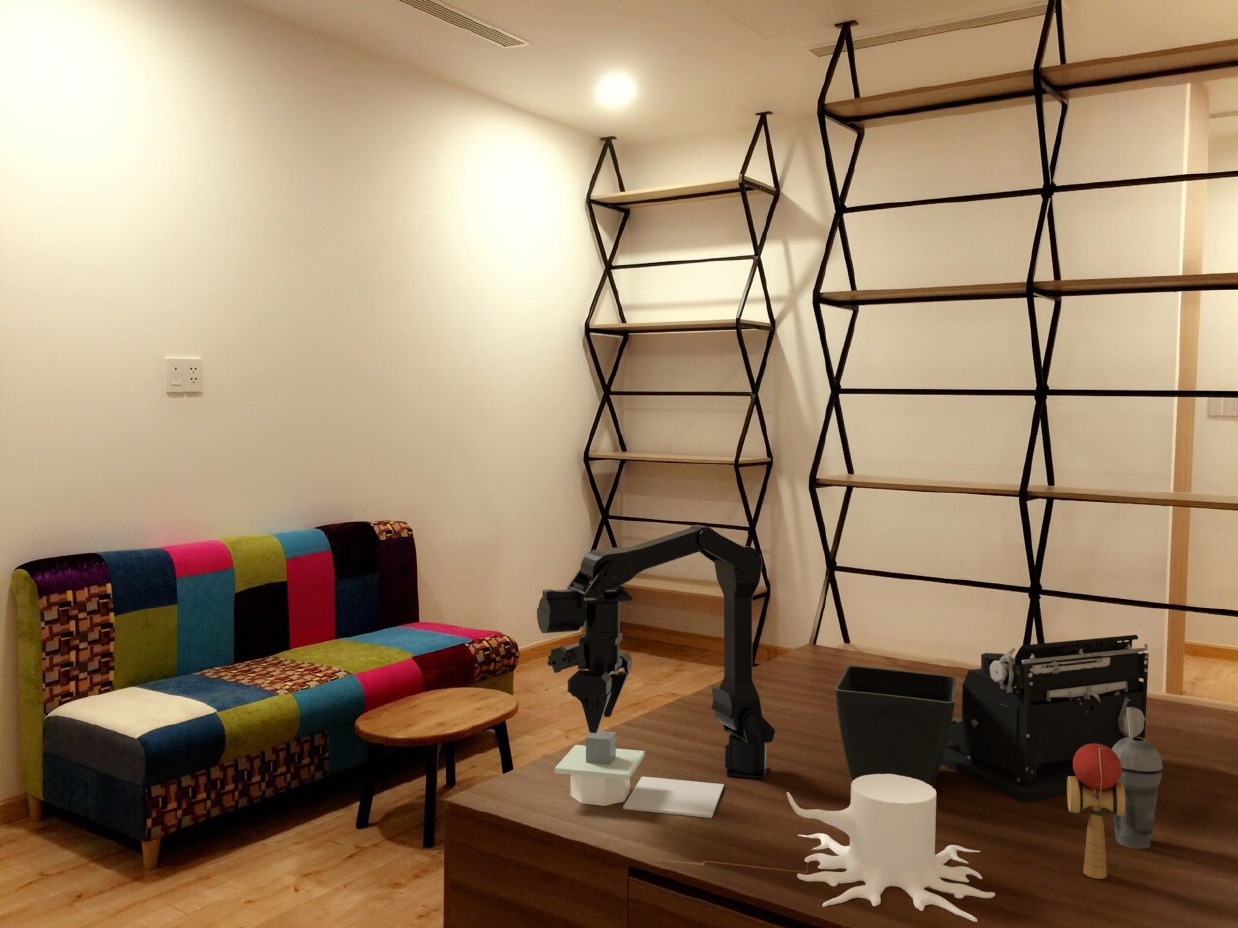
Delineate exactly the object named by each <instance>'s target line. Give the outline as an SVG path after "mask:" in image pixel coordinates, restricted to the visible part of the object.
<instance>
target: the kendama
mask: <svg viewBox="0 0 1238 928" xmlns="http://www.w3.org/2000/svg"><path fill="white" fill-rule="evenodd" d="M1073 769H1074V772H1075V774H1076V776H1077V777H1076V776H1068V778H1067V795H1066V798H1067V809H1068V811H1069V813H1074V814H1079V813H1081V812H1082V811H1083V810H1084V809H1087V808H1090V811H1089V816H1088V821H1087V828H1086V837H1085V839H1086V840H1085V841H1086V842H1085V849H1084V858H1083V859H1084V862H1083V867H1082V868H1083V870H1082V872H1083V874H1084V875H1085V876H1087V877H1088V878H1091V879H1096V880H1103V879H1106V878H1107V877H1108V872H1107V871H1108V870H1107V856H1106V854H1107V853H1106V838H1105V837H1106V835H1105V824H1104V817H1103V809H1107V810H1108V811H1110V812H1112V813H1113V815H1114V814H1115V815H1116V816H1124V814H1125V791H1124V785H1123V783H1122V782H1118V781H1119V779H1120V777H1121V773H1122V766H1121V762H1120V760H1119V758H1118V756H1117V755H1116V753H1115V752H1114V751H1113V750H1111V749H1110V748H1108V747H1106V746H1104V745H1101V744H1087V745H1084V746H1082V747H1081V748H1080V749H1079V750H1078V751H1077V752H1076V754H1075V756H1074V758H1073Z"/></svg>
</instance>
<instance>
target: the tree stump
mask: <svg viewBox="0 0 1238 928" xmlns="http://www.w3.org/2000/svg"><path fill="white" fill-rule="evenodd" d="M850 784H851V785H850V803H849V806H847V808H844V809H842V810H841V809H840V810H824V809H817V808H816V809H815V808H814V809H804V808H801V807H799V805H798V804H797V803H796V802H795V800H794V798H793V796H792V795H791V794H790V792H789V791H787V792H786V796H787V800H788V801H789V804H790V806H791V807H792V809H793V811H794V812H795V813H796V815H798V816H799V817H802V818H807V819H813V820H814V819H815V820H819V821H821V822H822V823H825V824H826V825H830V826H832V827H834V828H836V829H838V830H841V831H842V832H844V833H845V834H847V836H848V837H849V845H842V844H840V843H839V842H838V841H835V840H834V839H833V838H832V837H831V836H829V835H828V834H826V833H814V834H809V835H806V834H805V835H804V834H797V836H798V837H803V838H809V839H819V840H820V844H819V845H818V846H816V847H815V846H814V847H813V848H812V849H810V850H811V851H817V850H826V849H830V850H831V851H833V852H834V853H835V854H836V855H829V854H826V853H820V852H817V853H813V854H811V855H808V856H806V857H805V858H804V862H806V864H808V863H809V862H813V861H815V862H816V861H817V862H819V865H818V866H817V869H820V870H823V871H819V872H814V873H811V874H802V873H797V874H796V877H797V878H798V879H799V880H802V881H804V882H805V881H806V882H825V883H827V884H828V885H829V886H831V887H836V886H838V884H849V883H856V882H859V881H860V882H864V884H863V885H857V886H854V887H851V888H848V889H847V890H846V891H845V892H843V893H842V894H840V895H838V896H837V897H833V898H831V899H829V900H827V901H824V902H823V904H822V905H821V906H822V907H824V908H825V907H828V906H832V905H833V906H834V905H837V904H841V903H845V902H848V901H849V900H851V899H856V898H861V899H866V900H868V901H870V902H871V905H872V906H873V907H876V906H879V905H880V904H881V902H882V900H881V899H882V898H881V895H882V893H883V892H884V890H885V889H886V888H887V887H897V888H900V889H902V890H903V891H905V893H907V894H908V895H909V897H911V899H912V901H913V904H914V908H916V909H918V910H919V911H920V912H923V911H924V909H925V906H928V905H933V906H937V907H940V908H943V909H945V910H947V911H948V912H951V913H953V914H954V915H956V916H960V917H962V918H965V919H967V920H970V921H972V922H975V923H977V922H978V919H977V917H975V916H973V915H972V914H970V913H967V912H966V911H964V910H962V909H960V908H958V907H957V906H956V905H954V904H952V903H951V902H950V901H948V900H947V899H945V898H944V897H942V896H940V895H939V894H936V893H933V892H930V891H927V890H926V889H925V888H930V889H932V890H935V891H939V892H941V893H947V894H951V895H954V897H955V898H956V899H964V897H965V896H970V897H971V896H973V897H976V898H977V897H978V898H983V899H992V898H994V897H995V896H996V893H995V892H993V891H990V892H988V891H984V890H983V891H982V890H981V889H978V888H975V887H972V886H970V885H968V884H967V885H966V884H965V883H969V882H970V880H969V879H968V878H967V875H972V876H975V877H976V878H978V879H980V880H982V879H983V876H982V875H981V874H980V873H979V872H977V871H976V870H974V869H972V868H970V867H967V866H964V865H961V866H960V865H958V866H948V865H945V864H946V863H947V862H948V861H950V860H954V861H957V862H959V863H963V864H969V862H968V861H967V860H964V859H963V858H962V857H961V858H960V857H959V856H958V851H962V852H965V853H980V852H981V850H974V849H969V848H966V847H963V846H960V845H956V844H950V845H948V846H946V847H945V848H944V850H941V851H940V852H939V853H937V854H935V853H936V819H937V815H936V814H937V813H936V812H937V791H936V789H935V788H934V787H933V788H932V786H930V785H929V784H926V783H924V782H923V781H921V780H918V779H914V778H911V777H906V776H899V775H894V774H875V775H874V774H871V775H865V776H862V777H861V776H860V777H858V778H857V779H855V780H853V781H851V783H850ZM837 869H845V871H841V872H840V871H839V872H837V871H828V870H837ZM824 870H827V871H824ZM942 878H943V879H946V880H947V879H948V880H951V881H954V882H955V881H956V882H960V883H954V882H947V881H944V880H942ZM961 882H963V883H964V884H963V883H961Z"/></svg>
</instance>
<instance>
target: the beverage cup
mask: <svg viewBox="0 0 1238 928" xmlns="http://www.w3.org/2000/svg"><path fill="white" fill-rule="evenodd" d="M1127 717H1128V728H1129V737H1126V738H1123V739H1121V740H1119V741H1118V742H1117V743H1116V744H1115V745H1114V746H1113V748H1112V750H1113V751H1114V752H1115V753H1116V755H1117V756H1118V758H1119V760H1120V762H1121V766H1122V773H1121V777H1120V779H1119V781H1118V782H1122V783H1123V785H1124V791H1125V814H1124V816H1116V815H1115V814H1114V813H1113V823H1114V824H1113V825H1114V835H1115V841H1116V842H1117V843H1118V844H1119V845H1121V846H1125V847H1126V848H1130V849H1135V850H1136V849H1137V850H1145V849H1148V848H1150V847H1151V841H1152V837H1153V832H1154V831H1153V830H1154V823H1155V816H1156V815H1155V814H1156V808H1157V802H1158V801H1157V800H1158V792H1159V785H1160V783H1161V781H1162V777H1163V772H1165V771H1164V770H1165V769H1164V767H1163V761H1162V760H1163V759H1162V757H1161V755H1160V753H1159V751H1158V749H1157V747H1155V746H1154V744H1152V743H1151V742H1150V741H1149V740H1147V739H1146V738H1145V739H1143V738H1140V737H1133V730H1132V719H1131V709H1130V707H1127Z"/></svg>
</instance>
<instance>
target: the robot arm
mask: <svg viewBox="0 0 1238 928" xmlns="http://www.w3.org/2000/svg"><path fill="white" fill-rule="evenodd" d="M696 553H700V554H701V555H702V556H704V557H705V558H706V559H707V560H709V561H710V562H713V563H714V569H715V575H716V580H717V582H718V585H719V587H720V589H721V592H722V594H723V630H724V631H723V651H724V652H723V656H724V658H723V663H724V664H723V665H724V666H723V674H724V675H723V679H722V680H721V682H720V685H719V687H718V686H712V688H711V693H712V705H711V710H712V711H714V716H715V718H716V719H717V721H718V722H720V723H721V726H722V728H723V730H724V732H726V733H728V734H729V736H728V741H727V742H726V743H725V746H724V752H725V753H724V768H725V769H727V770H726V774H725V775H726V776H729V777H730V776H731V777H741V778H749V779H760V780H761V779H762V780H763V779H765V778H766V774H767V771H768V763H767V744H768V743H772V742H773V740H774V738H775V733H776V730H775V728H774V727H773V726H772V725H771V724H770V723H769V722H768V721H767V719H765V718H764V717H763V710H762V703H761V698H760V695H759V693H758V689H757V688H756V685H755V682H754V679H753V598H754V597H753V596H754V594H755V592H756V590H757V588H758V586H759V584H760V582H761V575H762V569H763V558H762V555H761V553H759V551H758V550H757V549H755V548H753V547H752V546H747V545H743V544H738V543H737V542H736V541H735V542H734V541H733V540H732V539H730V538H727V536H724V535H722V534H720V533H718V532H717V531H715V530H714V529H713V528H712V527H709V526H705V525H702V524H701V525H700V524H693V525H691V526H689V527H688V528H685V529H682V530H679V531H675V532H672V533H670V534H666V535H663V536H661V537H657V538H654V539H651V540H648V541H645V542H642V543H639V544H636V545H632V546H625V547H624V546H623V547H607V548H600V549H592V550H590V551H589V552H587V553H585V555H584V557H583V559H582V560H581V564H580V568H579V570H578V571H577V572H576V574H575V576H574V577H573V578H572V580H571V582H570V583H569V584H568V586H567V588H566V589H552V588H549V589H548V588H547V589H543V590H542V595H541V596H542V597H541V598H540V599H539V603H538V608H536V620H537V625H538V628H539V630H540V632H541V633H542V634H552V633H553V634H554V633H568V632H569V633H570V632H578V631H579V630H580V629H581V628H584V632H583V635H582V636H580V638H578V642H576V643H572V644H569V645H566V646H564V645H563V644H561V645H559V646H557V647H553V648H552V649H550V653H549V654H548V655H547V658H548V661H547V665H548V666H549V667H551V668H552V671H553V673H554V674H557V673H561V672H562V671H563V670H566V669H570V668H573V667H576V666H577V671H576V672H574V674H573V675H571V677H570V678H568V680H567V693H570V695H571V696H572V697H575V698H576V699H577V700H579V702H580V703H581V707H582V708H583V712H584V715H585V720H586V724H587V728H588V732H589V734H590V733H596V732H597V731H599V727H600V725H601V722H602V720H603V717H604V718H611V717H612V715H613V712H614V710H615V707H616V705H617V703H618V700H619V697H620V696H621V693H622V691H623V689H624V686H625V685H626V681H627V679H628V677H629V676H630V671H631V670H632V668H633V666H632V665H633V662H632V661H633V657H632V656H631V655H630V654H629V653H628V652H627V651H620V643H621V642H622V641H623V633H622V632H621V631H620V630H621V629H620V628H621V627H620V622H621V620H620V619H621V618H620V617H621V616H620V615H621V602H631V601H633V599H634V597H633V596H632V595H631V594H630V593H628V591H627V590H626V589H625V587H624V586H623V585H624V584H626V583H628V582H630V581H632V580H633V579H634V578H635V577H636V576H637V575H638V574H640V573H641V572H643V571H646V570H648V569H651V568H653V567H658V566H660V565H665V564H666V563H670V562H672V561H676V560H678V559H681V558H684V557H688V556H691V555H693V554H696ZM622 669H623V670H624V671H623V670H622Z"/></svg>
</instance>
